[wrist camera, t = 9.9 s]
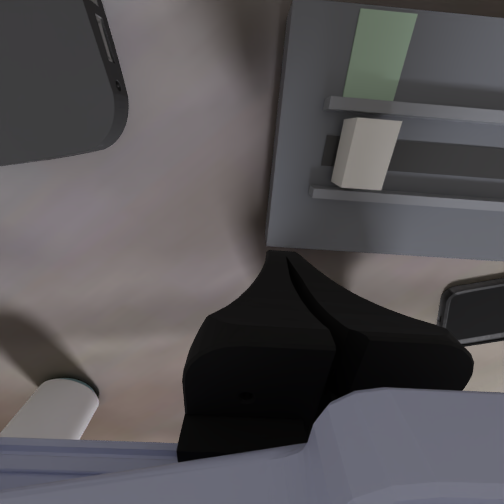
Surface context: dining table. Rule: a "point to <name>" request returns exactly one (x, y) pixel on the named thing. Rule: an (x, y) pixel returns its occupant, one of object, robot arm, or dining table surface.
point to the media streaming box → (57, 80)
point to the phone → (474, 312)
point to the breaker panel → (409, 138)
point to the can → (55, 411)
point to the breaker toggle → (364, 152)
